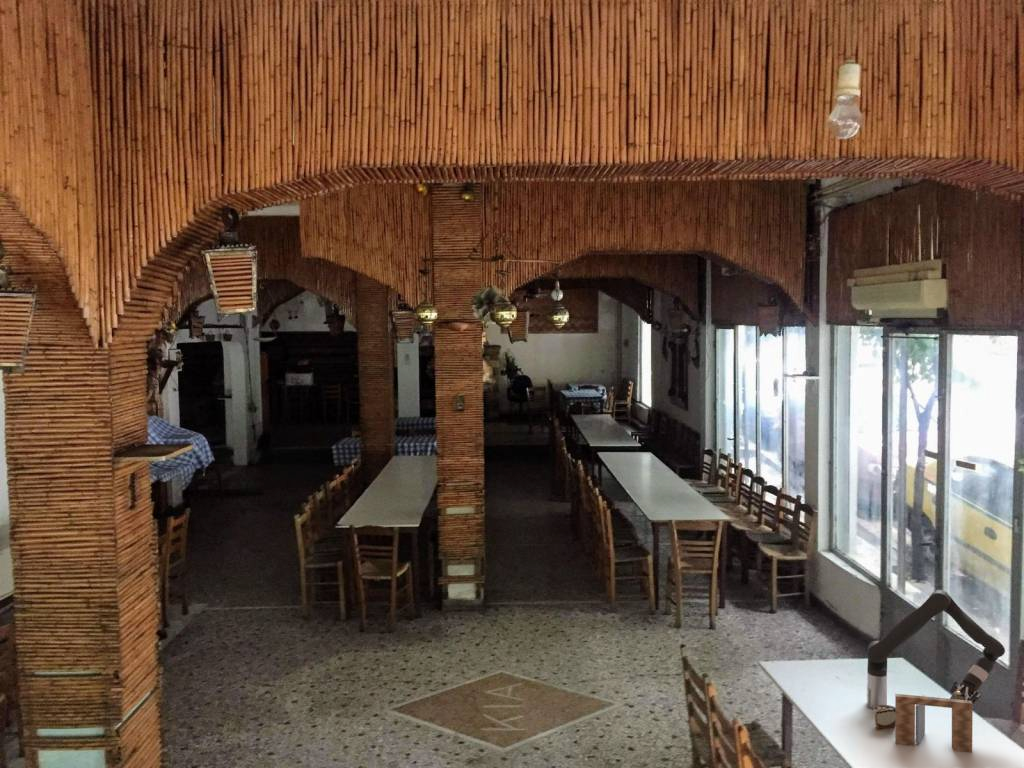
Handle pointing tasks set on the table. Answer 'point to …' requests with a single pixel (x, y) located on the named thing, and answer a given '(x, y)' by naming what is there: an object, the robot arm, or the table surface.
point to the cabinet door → (920, 722)
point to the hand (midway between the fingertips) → (955, 705)
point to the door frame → (960, 708)
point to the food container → (884, 717)
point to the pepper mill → (958, 696)
